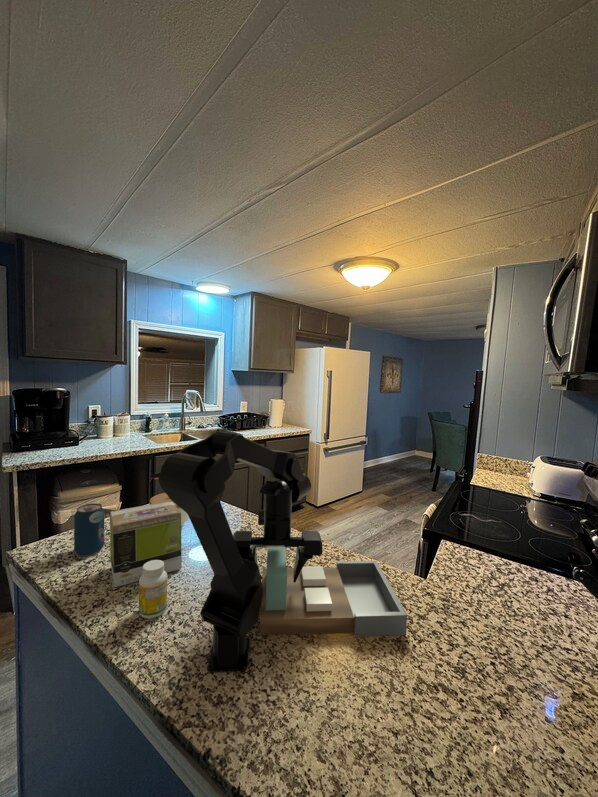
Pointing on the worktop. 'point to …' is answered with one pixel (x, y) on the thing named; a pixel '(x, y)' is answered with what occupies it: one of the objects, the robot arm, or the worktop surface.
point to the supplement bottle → (153, 589)
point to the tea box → (144, 540)
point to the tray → (372, 600)
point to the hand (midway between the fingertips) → (275, 581)
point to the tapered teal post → (276, 579)
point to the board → (308, 621)
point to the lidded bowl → (164, 498)
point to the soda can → (89, 529)
